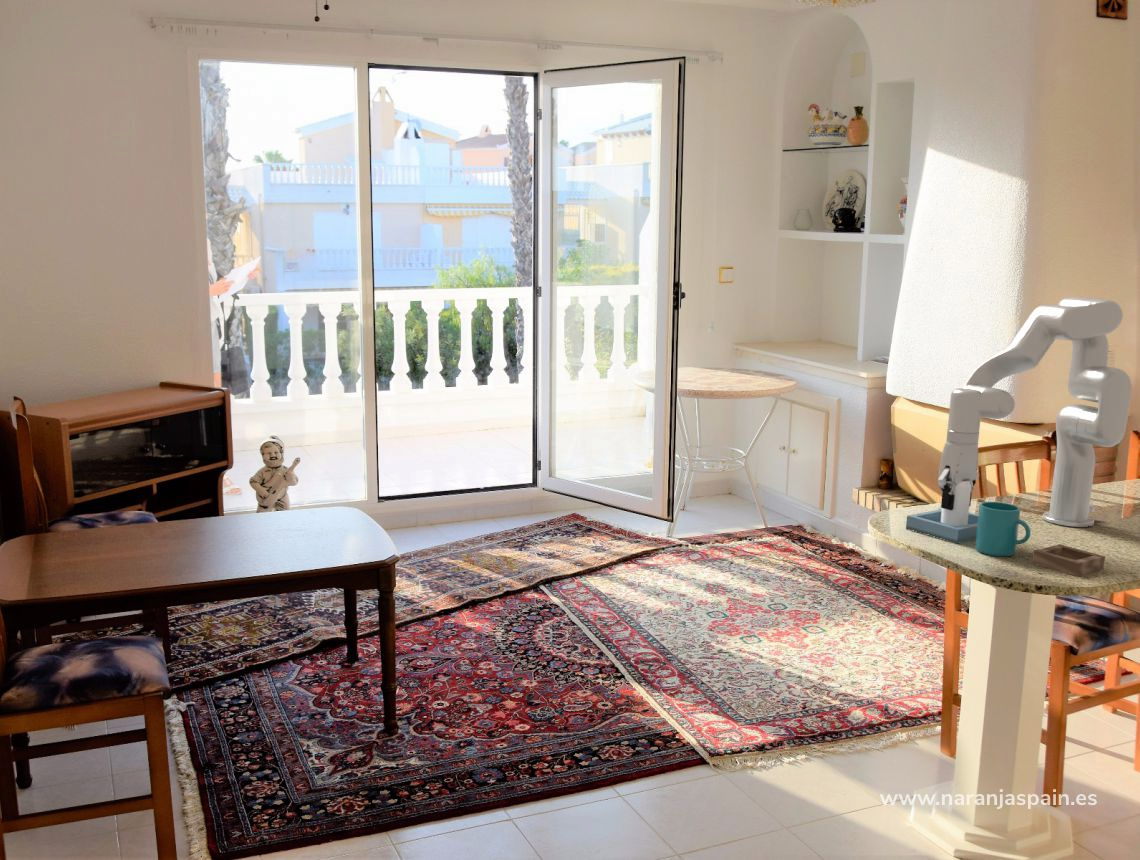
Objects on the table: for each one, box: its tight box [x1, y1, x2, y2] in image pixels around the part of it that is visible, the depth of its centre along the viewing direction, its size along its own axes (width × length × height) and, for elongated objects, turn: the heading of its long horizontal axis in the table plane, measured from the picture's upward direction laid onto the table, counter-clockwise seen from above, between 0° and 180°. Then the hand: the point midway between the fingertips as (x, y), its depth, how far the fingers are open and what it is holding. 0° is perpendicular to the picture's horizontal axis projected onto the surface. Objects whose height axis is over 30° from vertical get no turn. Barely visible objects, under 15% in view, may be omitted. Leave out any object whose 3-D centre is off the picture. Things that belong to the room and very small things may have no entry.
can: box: [941, 479, 972, 527], centre depth 272 cm, size 6×6×12 cm
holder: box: [1031, 543, 1106, 577], centre depth 247 cm, size 11×11×3 cm
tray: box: [905, 509, 979, 544], centre depth 273 cm, size 18×15×4 cm
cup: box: [974, 501, 1031, 558], centre depth 255 cm, size 9×12×11 cm
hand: (955, 506), depth 272 cm, fingers open, 6 cm apart
